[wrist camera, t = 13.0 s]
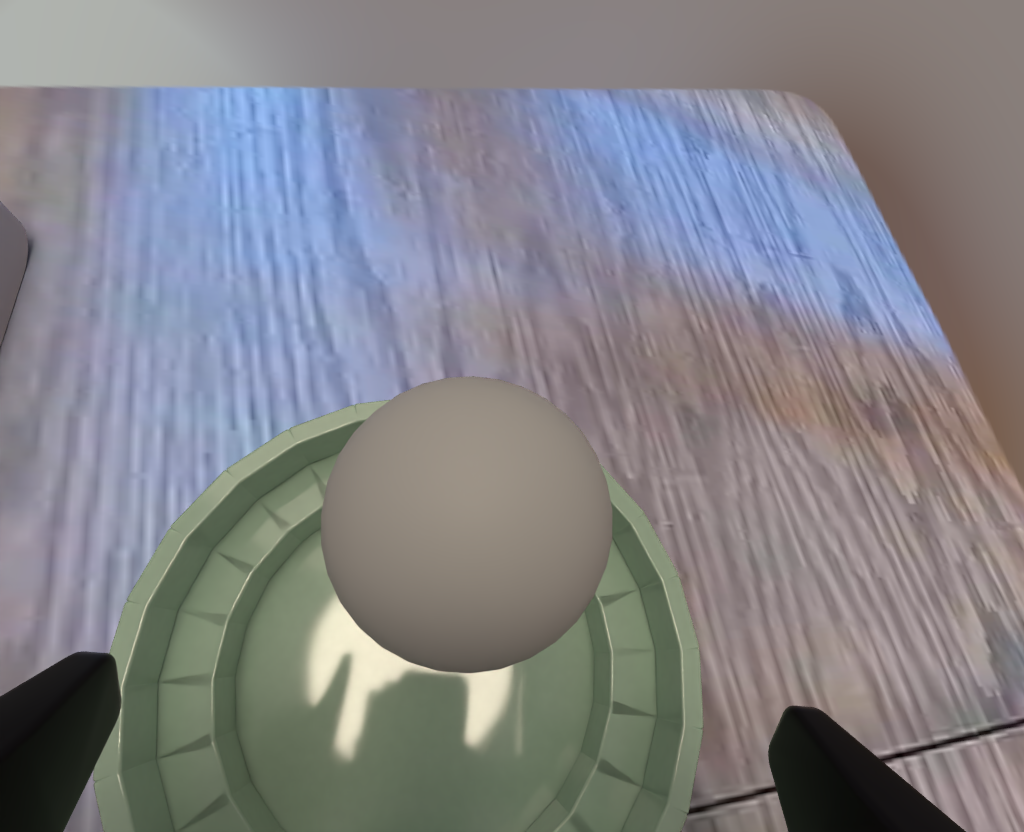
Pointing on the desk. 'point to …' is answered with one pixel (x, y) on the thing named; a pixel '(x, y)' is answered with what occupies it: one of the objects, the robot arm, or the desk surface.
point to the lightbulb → (466, 525)
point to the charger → (10, 263)
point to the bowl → (383, 686)
